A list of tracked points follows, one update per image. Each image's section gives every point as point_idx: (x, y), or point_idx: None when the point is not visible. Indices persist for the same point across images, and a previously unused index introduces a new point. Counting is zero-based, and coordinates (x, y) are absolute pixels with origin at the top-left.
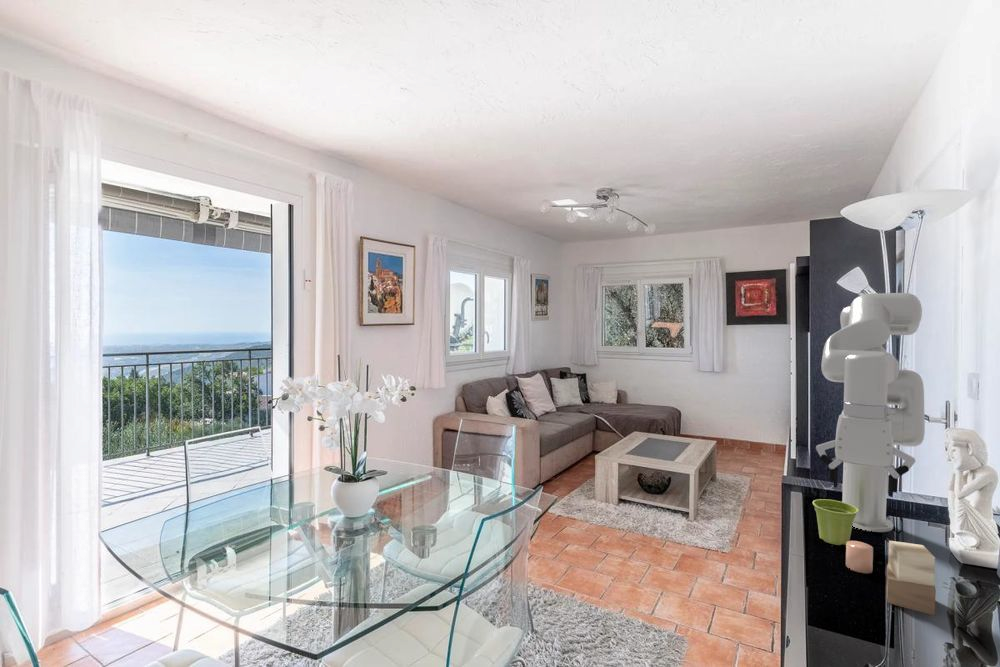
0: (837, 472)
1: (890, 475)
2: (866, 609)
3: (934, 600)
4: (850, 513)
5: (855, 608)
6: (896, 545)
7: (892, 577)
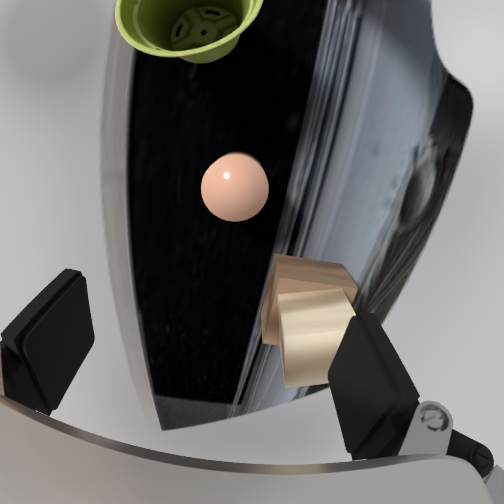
0: (58, 404)
1: (367, 457)
2: (224, 345)
3: None
4: (227, 41)
5: (208, 348)
6: (292, 358)
7: (272, 337)
